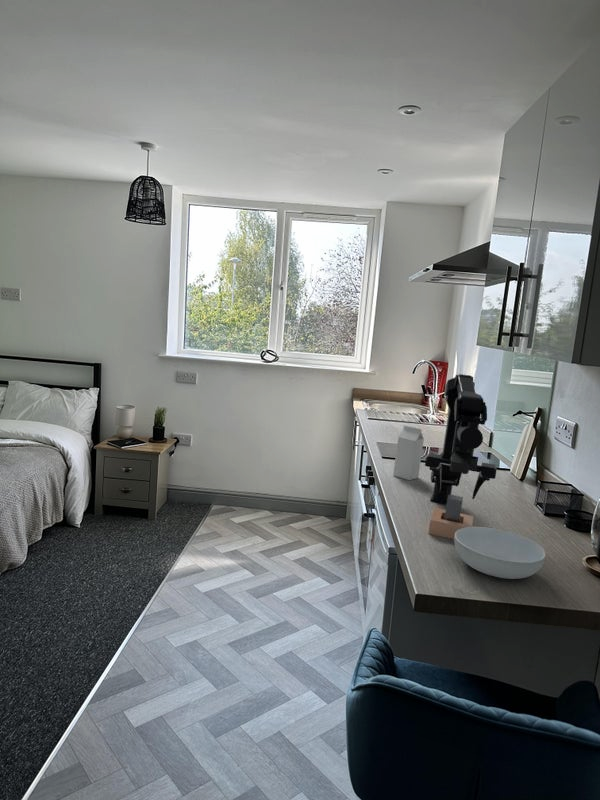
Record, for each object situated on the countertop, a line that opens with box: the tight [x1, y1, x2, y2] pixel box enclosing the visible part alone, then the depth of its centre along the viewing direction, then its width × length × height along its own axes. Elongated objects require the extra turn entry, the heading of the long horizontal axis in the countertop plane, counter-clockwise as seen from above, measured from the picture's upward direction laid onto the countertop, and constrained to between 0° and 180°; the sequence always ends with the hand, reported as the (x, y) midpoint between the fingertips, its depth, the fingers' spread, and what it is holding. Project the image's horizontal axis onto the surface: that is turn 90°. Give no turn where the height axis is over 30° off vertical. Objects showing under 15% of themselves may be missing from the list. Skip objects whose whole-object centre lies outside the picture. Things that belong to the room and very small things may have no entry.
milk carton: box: [392, 425, 425, 481], centre depth 205 cm, size 7×7×19 cm
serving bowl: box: [453, 526, 547, 580], centre depth 133 cm, size 21×21×7 cm
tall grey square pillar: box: [444, 494, 464, 523], centre depth 154 cm, size 4×4×10 cm
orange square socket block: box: [428, 507, 474, 540], centre depth 155 cm, size 11×11×4 cm
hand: (455, 495), depth 153 cm, fingers open, 9 cm apart
